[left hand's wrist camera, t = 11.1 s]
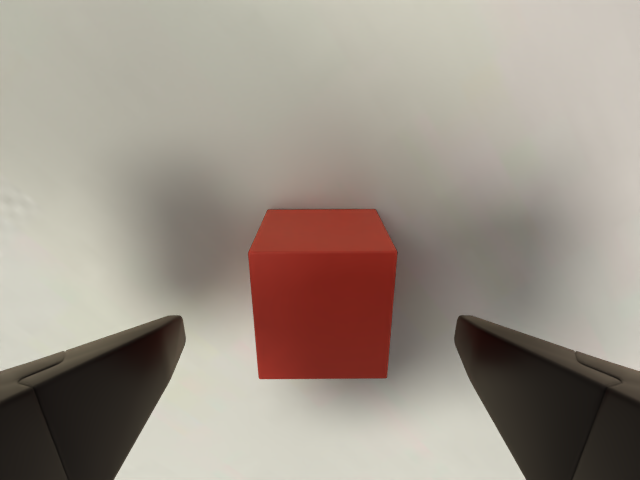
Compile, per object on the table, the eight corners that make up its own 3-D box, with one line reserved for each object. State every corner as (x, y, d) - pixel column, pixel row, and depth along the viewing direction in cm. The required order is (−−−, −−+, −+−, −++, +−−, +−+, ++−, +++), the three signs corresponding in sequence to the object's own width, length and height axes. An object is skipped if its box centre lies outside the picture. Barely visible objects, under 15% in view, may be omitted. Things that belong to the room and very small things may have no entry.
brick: (267, 209, 15) (247, 251, 11) (376, 208, 15) (398, 251, 11) (273, 310, 17) (258, 380, 13) (370, 309, 17) (387, 379, 13)
